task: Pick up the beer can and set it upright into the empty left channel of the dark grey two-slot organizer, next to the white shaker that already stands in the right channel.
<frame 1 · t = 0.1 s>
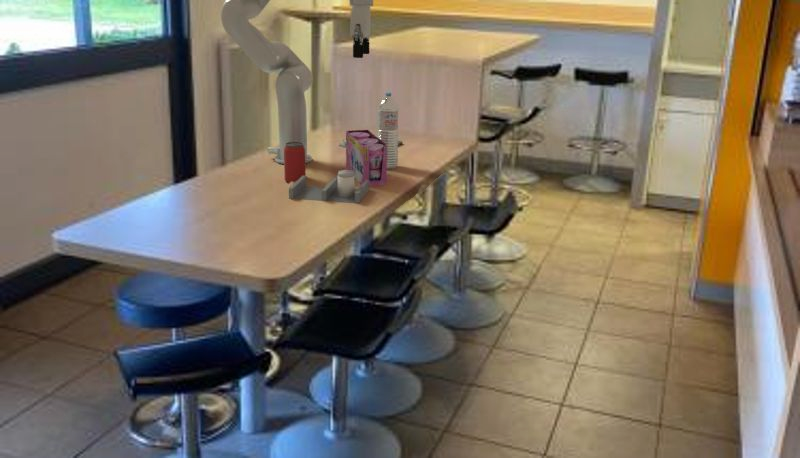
hand: (361, 55, 263), 37 cm above the table, tool pointing down, fingers open, 9 cm apart
gum box: (365, 179, 259), on the table
water bottle: (387, 167, 274), on the table
shaker: (346, 195, 239), point 1 cm above the table, touching organizer
beer can: (295, 181, 255), on the table
organizer: (330, 197, 240), on the table
dish towel: (370, 147, 303), on the table
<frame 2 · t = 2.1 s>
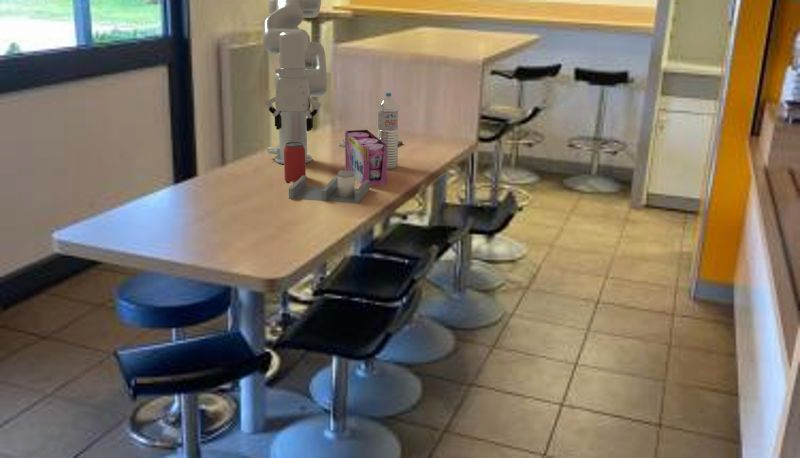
hand: (294, 129, 249), 17 cm above the table, tool pointing down, fingers open, 9 cm apart
nothing on the table moved.
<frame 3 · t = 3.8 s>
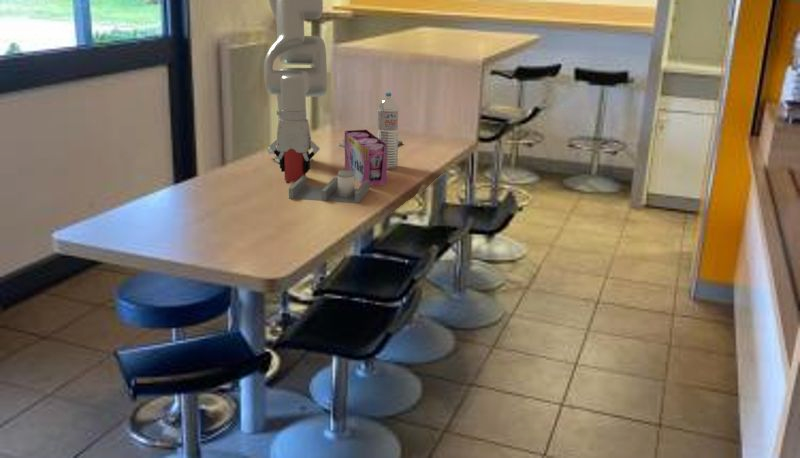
hand: (295, 171, 254), 3 cm above the table, tool pointing down, fingers closed on beer can, 6 cm apart
beer can: (295, 181, 255), on the table, touching gripper
everything else where it was.
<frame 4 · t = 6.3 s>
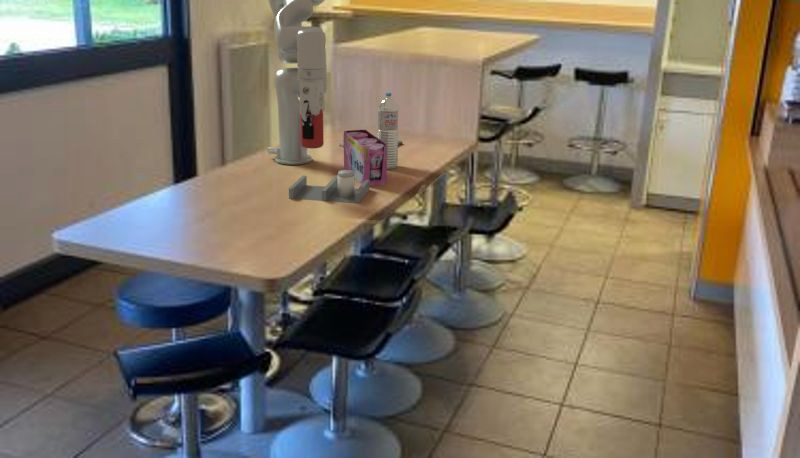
hand: (312, 135, 235), 18 cm above the table, tool pointing down, fingers closed on beer can, 6 cm apart
beer can: (312, 147, 236), point 15 cm above the table, touching gripper
everything else where it was.
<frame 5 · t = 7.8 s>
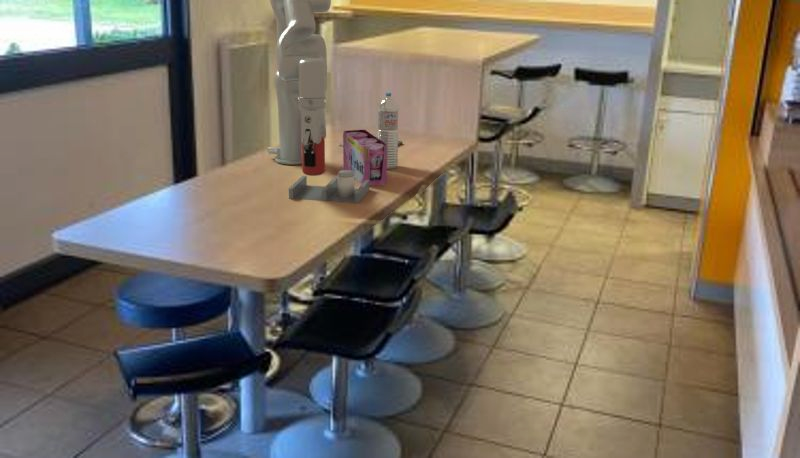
hand: (313, 162, 237), 10 cm above the table, tool pointing down, fingers closed on beer can, 6 cm apart
beer can: (313, 174, 238), point 7 cm above the table, touching gripper
everything else where it was.
when the fingers open (5 cm above the table, at t = 9.2 s): beer can drops 1 cm, resting on organizer.
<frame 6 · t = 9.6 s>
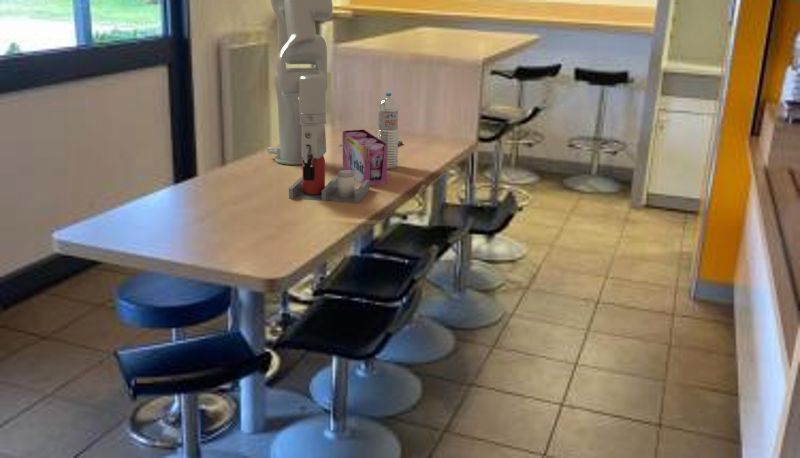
hand: (313, 175, 238), 6 cm above the table, tool pointing down, fingers open, 9 cm apart
beer can: (313, 192, 240), point 1 cm above the table, touching organizer
everything else where it was.
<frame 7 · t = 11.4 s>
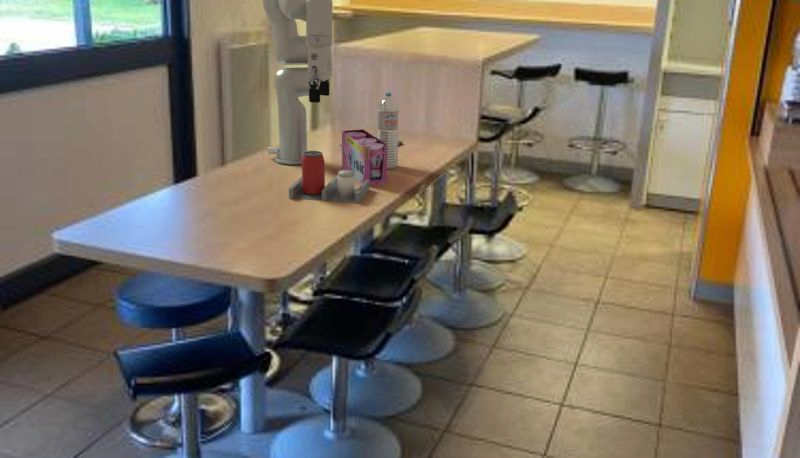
hand: (319, 98, 240), 27 cm above the table, tool pointing down, fingers open, 9 cm apart
nothing on the table moved.
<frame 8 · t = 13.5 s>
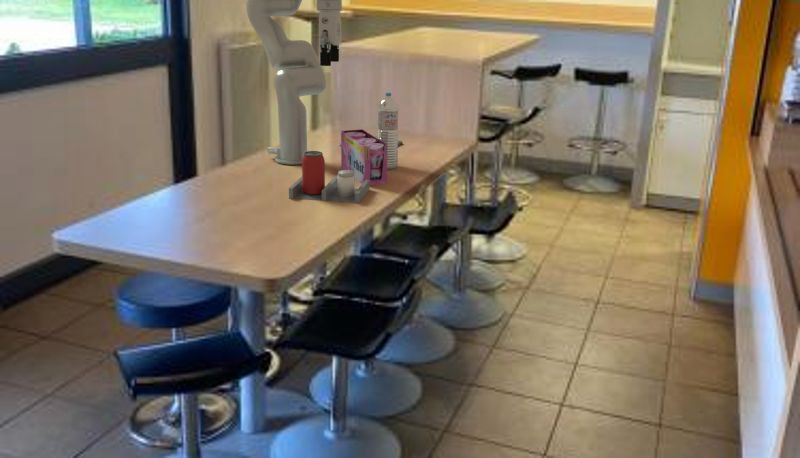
hand: (329, 63, 247), 36 cm above the table, tool pointing down, fingers open, 9 cm apart
nothing on the table moved.
at the end: beer can inside the target area on the organizer (0.2 cm from its centre), point 0.8 cm above the organizer's base; beer can tilted 0°; shaker moved 0.0 cm from its start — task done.
